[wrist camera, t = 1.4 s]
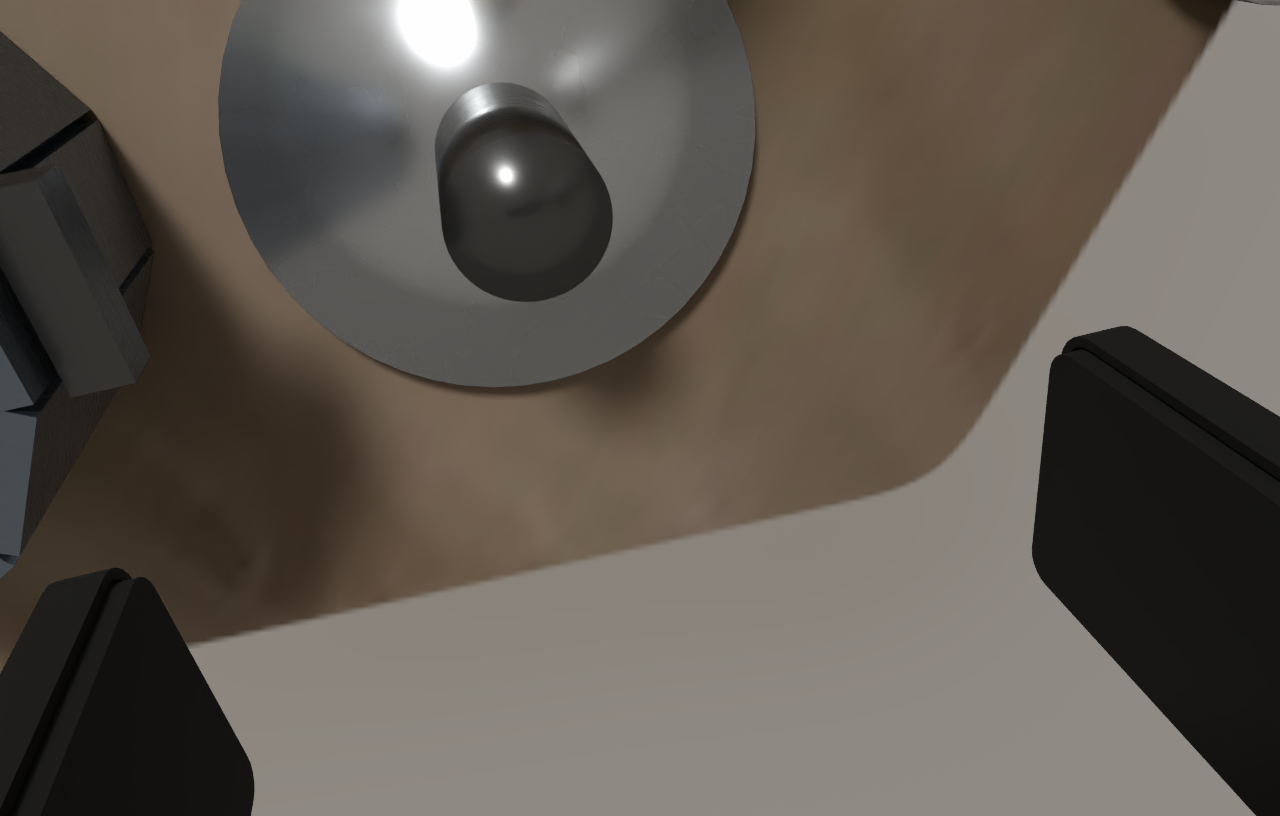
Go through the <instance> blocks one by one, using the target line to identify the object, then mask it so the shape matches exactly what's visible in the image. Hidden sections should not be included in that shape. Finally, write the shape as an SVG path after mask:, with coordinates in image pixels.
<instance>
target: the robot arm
mask: <svg viewBox="0 0 1280 816" xmlns="http://www.w3.org/2000/svg"><path fill="white" fill-rule="evenodd" d="M1238 1H1244V2H1250V3H1255V4H1261V5H1280V0H1238ZM1032 557H1033V561H1034V565H1035V568H1036V570H1037V572H1038V574H1039V576H1040V578H1041V579H1042V581H1043V582H1044V583H1045V584H1046V586H1047V587H1048V588H1049V589H1050V590H1051V591H1052V592H1053V593H1054V594H1055V596H1056V597H1058V599H1059V600H1060V601H1061V602H1062V603H1063V604H1064V605H1065V606H1066V608H1068V610H1069V611H1070V612H1071V613H1072V614H1073V615H1074V616H1075V617H1076V619H1077V620H1079V622H1080V623H1081V624H1082V625H1083V626H1084V627H1085V628H1086V630H1088V632H1089V633H1090V634H1091V635H1092V636H1093V637H1094V638H1095V639H1096V640H1097V642H1098V643H1099V644H1100V645H1101V646H1102V647H1103V648H1104V649H1105V650H1106V651H1107V652H1108V654H1109V655H1110V656H1111V657H1112V658H1113V659H1114V660H1115V661H1116V662H1117V664H1119V666H1120V667H1121V668H1122V669H1123V670H1124V671H1125V672H1126V673H1127V675H1129V677H1130V678H1131V679H1132V680H1133V681H1134V682H1135V683H1136V684H1137V685H1138V686H1139V687H1140V689H1141V690H1142V691H1143V692H1144V693H1145V694H1146V695H1147V696H1148V698H1149V699H1151V701H1152V702H1153V703H1154V704H1155V705H1156V706H1157V707H1158V708H1159V710H1160V711H1161V712H1162V713H1163V714H1164V715H1165V716H1166V717H1167V718H1168V719H1169V720H1170V722H1171V723H1172V724H1173V725H1174V726H1175V727H1176V728H1177V729H1178V730H1179V731H1180V733H1181V734H1182V735H1183V736H1184V737H1185V738H1186V739H1187V740H1188V741H1189V743H1190V744H1191V745H1192V746H1193V747H1194V748H1195V749H1196V750H1197V751H1198V752H1199V753H1200V755H1202V757H1203V758H1204V759H1205V760H1206V761H1207V762H1208V763H1209V764H1210V766H1211V767H1212V768H1213V769H1214V770H1215V771H1216V772H1217V773H1218V774H1219V775H1220V776H1221V778H1222V779H1223V780H1224V781H1225V782H1226V783H1227V784H1228V785H1229V786H1230V787H1231V789H1233V791H1234V792H1235V793H1236V794H1237V795H1238V796H1239V797H1240V798H1241V800H1242V801H1243V802H1244V803H1245V804H1246V805H1247V806H1248V807H1249V808H1250V809H1251V811H1253V813H1254V814H1255V815H1256V816H1280V417H1279V416H1278V415H1276V414H1274V413H1273V412H1271V411H1269V410H1268V409H1266V408H1264V407H1263V406H1261V405H1259V404H1258V403H1256V402H1255V401H1253V400H1251V399H1250V398H1248V397H1246V396H1245V395H1243V394H1241V393H1240V392H1238V391H1237V390H1235V389H1233V388H1232V387H1230V386H1228V385H1227V384H1225V383H1223V382H1222V381H1220V380H1218V379H1217V378H1215V377H1213V376H1212V375H1210V374H1208V373H1207V372H1205V371H1204V370H1202V369H1200V368H1198V367H1197V366H1195V365H1194V364H1192V363H1190V362H1189V361H1187V360H1186V359H1184V358H1182V357H1181V356H1179V355H1177V354H1176V353H1174V352H1172V351H1171V350H1169V349H1167V348H1166V347H1164V346H1162V345H1161V344H1159V343H1158V342H1156V341H1154V340H1153V339H1151V338H1149V337H1148V336H1146V335H1144V334H1143V333H1141V332H1139V331H1138V330H1136V329H1133V328H1131V327H1129V326H1120V327H1116V328H1111V329H1107V330H1103V331H1099V332H1095V333H1090V334H1086V335H1082V336H1078V337H1074V338H1072V339H1071V340H1069V341H1068V342H1067V343H1066V345H1065V346H1064V348H1063V351H1062V354H1061V355H1058V356H1057V357H1055V358H1054V360H1053V362H1052V363H1051V368H1050V374H1049V384H1048V395H1047V404H1046V414H1045V424H1044V434H1043V444H1042V454H1041V464H1040V474H1039V484H1038V493H1037V503H1036V514H1035V523H1034V534H1033V543H1032ZM253 800H254V778H253V771H252V767H251V764H250V761H249V759H248V757H247V755H246V753H245V751H244V749H243V747H242V746H241V744H240V742H239V740H238V739H237V737H236V735H235V733H234V732H233V730H232V727H231V726H230V724H229V722H228V720H227V719H226V717H225V715H224V713H223V711H222V709H221V707H220V706H219V704H218V702H217V700H216V698H215V697H214V695H213V693H212V691H211V689H210V688H209V686H208V684H207V682H206V680H205V678H204V677H203V675H202V673H201V671H200V669H199V667H198V666H197V664H196V662H195V660H194V658H193V656H192V655H191V653H190V651H189V649H188V647H187V646H186V644H185V642H184V640H183V638H182V636H181V635H180V633H179V631H178V629H177V627H176V626H175V624H174V622H173V620H172V618H171V616H170V615H169V613H168V611H167V609H166V607H165V606H164V604H163V602H162V600H161V598H160V596H159V595H158V593H157V591H156V589H155V588H154V586H153V585H152V583H151V582H150V581H149V580H148V579H146V578H144V577H138V578H134V579H132V578H131V577H130V575H129V574H128V573H126V572H125V571H124V570H123V569H120V568H111V569H107V570H103V571H98V572H94V573H90V574H86V575H82V576H78V577H73V578H69V579H65V580H61V581H57V582H54V583H52V584H50V585H48V587H47V588H46V589H45V591H44V592H43V593H42V595H41V597H40V599H39V601H38V603H37V605H36V607H35V609H34V611H33V613H32V614H31V616H30V618H29V620H28V622H27V624H26V626H25V628H24V630H23V632H22V634H21V635H20V637H19V639H18V641H17V643H16V645H15V647H14V649H13V651H12V653H11V655H10V656H9V658H8V660H7V662H6V664H5V666H4V668H3V670H2V672H1V674H0V816H251V811H252V805H253Z"/></svg>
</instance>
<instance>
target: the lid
mask: <svg viewBox="0 0 1280 816" xmlns="http://www.w3.org/2000/svg"><path fill="white" fill-rule="evenodd" d="M218 104H219V136H220V142H221V148H222V154H223V160H224V166H225V172H226V175H227V178H228V182H229V185H230V188H231V191H232V195H233V198H234V201H235V204H236V208H237V210H238V212H239V214H240V216H241V218H242V221H243V223H244V225H245V227H246V229H247V232H248V234H249V236H250V238H251V240H252V242H253V244H254V245H255V247H256V248H257V250H258V252H259V253H260V255H261V256H262V258H263V260H264V261H265V263H266V264H267V266H268V268H269V269H270V271H271V272H272V273H273V274H274V276H275V277H276V278H277V279H278V281H279V282H280V283H281V284H282V286H283V287H284V288H285V289H286V290H287V292H288V293H289V294H290V295H291V297H292V298H293V299H294V300H295V301H296V302H297V303H298V304H299V305H300V306H302V307H303V308H304V309H305V310H306V311H307V312H308V313H309V314H310V315H311V316H312V317H313V318H314V319H315V320H316V321H317V322H318V323H320V324H321V325H322V326H324V327H325V328H326V329H328V330H329V331H330V332H332V333H333V334H334V335H336V336H337V337H338V338H340V339H341V340H342V341H344V342H345V343H347V344H349V345H351V346H352V347H354V348H356V349H358V350H359V351H361V352H363V353H364V354H366V355H368V356H370V357H371V358H373V359H376V360H378V361H380V362H383V363H385V364H387V365H389V366H392V367H394V368H396V369H399V370H401V371H404V372H407V373H411V374H414V375H417V376H421V377H424V378H427V379H431V380H435V381H441V382H447V383H452V384H458V385H464V386H481V387H508V386H525V385H531V384H536V383H542V382H548V381H554V380H557V379H561V378H564V377H567V376H571V375H574V374H578V373H581V372H584V371H586V370H589V369H591V368H593V367H596V366H598V365H600V364H603V363H605V362H608V361H610V360H612V359H614V358H615V357H617V356H619V355H621V354H622V353H624V352H626V351H628V350H629V349H631V348H633V347H635V346H636V345H638V344H639V343H641V342H642V341H643V340H645V339H646V338H647V337H649V336H650V335H651V334H653V333H654V332H655V331H657V330H658V329H660V328H661V327H662V326H663V325H664V324H665V323H666V322H667V321H668V320H670V319H671V318H672V317H673V316H674V315H675V314H676V313H677V312H678V311H679V310H680V309H681V308H682V307H683V306H684V305H685V304H686V303H687V302H688V300H689V299H690V298H691V297H692V296H693V295H694V293H695V292H696V291H697V290H698V289H699V287H700V286H701V285H702V284H703V282H704V281H705V279H706V278H707V276H708V275H709V273H710V272H711V270H712V269H713V267H714V266H715V264H716V263H717V261H718V260H719V258H720V256H721V254H722V252H723V250H724V248H725V246H726V244H727V243H728V241H729V239H730V237H731V235H732V233H733V231H734V228H735V225H736V223H737V220H738V217H739V214H740V211H741V209H742V206H743V203H744V200H745V196H746V192H747V188H748V183H749V179H750V175H751V170H752V163H753V153H754V144H755V100H754V93H753V86H752V79H751V72H750V66H749V63H748V59H747V55H746V52H745V48H744V44H743V41H742V37H741V34H740V31H739V29H738V26H737V24H736V22H735V19H734V17H733V14H732V12H731V9H730V7H729V5H728V2H727V0H241V3H240V5H239V7H238V10H237V12H236V14H235V17H234V19H233V21H232V25H231V29H230V33H229V37H228V40H227V44H226V48H225V52H224V56H223V60H222V69H221V78H220V87H219V96H218Z"/></svg>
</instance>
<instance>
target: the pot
mask: <svg viewBox="0 0 1280 816" xmlns="http://www.w3.org/2000/svg"><path fill="white" fill-rule="evenodd" d="M89 110H90V108H88V107H87V106H86V105H85V104H84V103H83V102H81V101H80V100H79V99H78V98H77V97H76V96H75V95H73V94H72V93H71V92H70V91H69V90H68V89H66V88H65V87H64V86H63V85H62V84H61V83H59V82H58V81H57V80H56V79H55V78H54V77H52V76H51V75H50V74H49V73H48V72H47V71H46V70H44V69H43V68H42V67H41V66H40V65H39V64H37V63H36V62H35V61H34V60H33V59H32V58H30V57H29V56H28V55H27V54H26V53H25V52H23V51H22V50H21V49H20V48H19V47H18V46H17V45H15V44H14V43H13V42H12V41H11V40H10V39H8V38H7V37H6V36H5V35H4V34H3V33H1V32H0V579H1V578H2V577H3V576H4V575H5V574H6V573H7V572H8V571H9V570H10V569H12V568H13V567H14V565H15V564H16V562H17V560H18V559H19V557H20V555H21V553H22V552H23V550H24V548H25V547H26V545H27V543H28V541H29V540H30V538H31V536H32V535H33V533H34V531H35V529H36V528H37V526H38V524H39V523H40V521H41V519H42V517H43V516H44V514H45V512H46V511H47V509H48V507H49V505H50V504H51V502H52V500H53V499H54V497H55V495H56V494H57V492H58V490H59V488H60V487H61V485H62V483H63V482H64V480H65V478H66V476H67V475H68V473H69V471H70V470H71V468H72V466H73V464H74V463H75V461H76V459H77V458H78V456H79V454H80V452H81V451H82V449H83V447H84V446H85V444H86V442H87V440H88V439H89V437H90V435H91V434H92V432H93V430H94V429H95V427H96V425H97V423H98V422H99V420H100V418H101V417H102V415H103V413H104V411H105V410H106V408H107V406H108V405H109V403H110V401H111V399H112V398H113V396H114V394H115V393H116V391H117V389H118V387H120V386H125V385H130V384H134V383H136V382H137V380H138V378H139V376H140V374H141V373H142V371H143V369H144V367H145V365H146V364H147V362H148V360H149V358H150V354H149V352H148V350H147V348H146V346H145V344H144V341H143V339H142V337H141V335H140V330H141V324H142V318H143V312H144V307H145V301H146V295H147V289H148V283H149V277H150V271H151V265H152V259H153V253H154V252H152V251H148V250H147V249H148V247H149V246H150V245H151V243H152V240H151V238H150V236H149V233H148V231H147V229H146V227H145V224H144V222H143V220H142V217H141V215H140V213H139V211H138V208H137V206H136V204H135V202H134V199H133V197H132V195H131V193H130V190H129V188H128V186H127V183H126V181H125V179H124V177H123V174H122V172H121V170H120V168H119V165H118V163H117V161H116V158H115V156H114V154H113V152H112V149H111V147H110V145H109V143H108V140H107V138H106V136H105V134H104V131H103V129H102V127H101V124H100V122H99V120H94V121H89V122H84V123H78V122H79V121H80V120H81V119H82V118H83V117H84V115H85V114H86V113H87V112H88V111H89ZM77 123H78V124H77Z"/></svg>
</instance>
